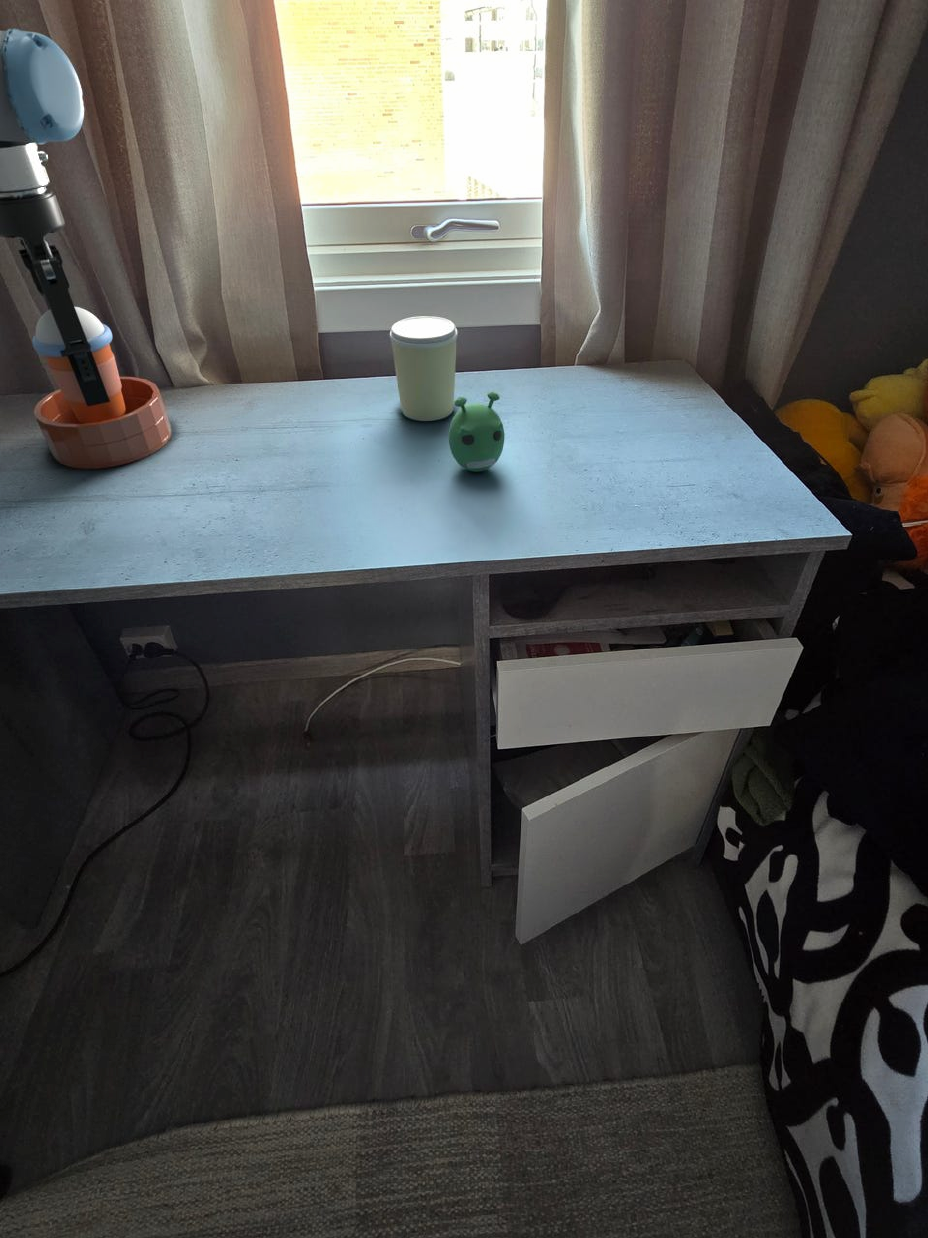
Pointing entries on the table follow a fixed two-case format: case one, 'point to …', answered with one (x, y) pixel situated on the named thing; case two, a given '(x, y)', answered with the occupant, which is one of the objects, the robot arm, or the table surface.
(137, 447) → the bowl
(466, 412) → the alien toy
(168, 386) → the table surface
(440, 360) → the coffee cup
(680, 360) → the table surface
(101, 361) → the cup with straw
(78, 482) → the table surface
